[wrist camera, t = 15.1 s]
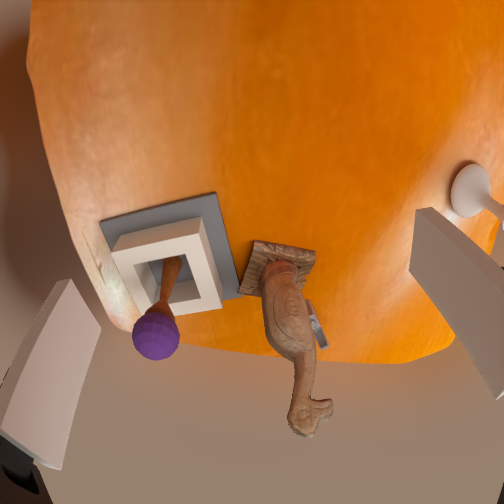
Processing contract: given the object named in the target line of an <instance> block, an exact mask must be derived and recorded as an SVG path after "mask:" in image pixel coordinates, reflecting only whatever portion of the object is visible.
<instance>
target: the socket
mask: <svg viewBox="0 0 504 504" xmlns="http://www.w3.org/2000/svg"><path fill="white" fill-rule="evenodd" d="M99 225H100V227H101V230H102V232H103V234H104V237H105V239H106V241H107V243H108V246H109V248H110V250H111V255H112V258H113V260H114V262H115V264H116V266H117V268H118V270H119V272H120V274H121V277H122V279H123V281H124V283H125V285H126V287H127V289H128V291H129V293H130V294H131V296H132V298H133V300H134V302H135V304H136V306H137V308H138V310H139V312H140V313H141V315H142V316H143V315H144V314H145V312H146V310H147V309H148V308H150V307H151V306H152V305H154V304H155V303H156V302H158V301H159V300H160V290H161V278H162V268H163V260H164V258H167V257H172V256H177V255H178V256H179V257H180V258H181V259H182V262H183V264H182V267H181V269H180V272H179V274H178V277H177V279H176V282H175V284H174V286H173V289H172V291H171V294H170V296H169V299H168V301H167V302H168V304H169V307H170V309H171V311H172V313H173V315H174V316H177V315H184V314H190V313H196V312H202V311H208V310H214V309H219V308H222V300H227V299H233V298H238V297H242V294H237V292H238V290H239V288H240V284H239V280H238V276H237V272H236V268H235V264H234V261H233V257H232V253H231V249H230V245H229V241H228V237H227V233H226V229H225V225H224V221H223V217H222V214H221V210H220V206H219V201H218V197H217V193H216V192H213V193H209V194H204V195H200V196H196V197H191V198H187V199H183V200H178V201H174V202H170V203H166V204H162V205H158V206H154V207H150V208H146V209H142V210H139V211H135V212H131V213H127V214H124V215H120V216H117V217H113V218H109V219H106V220H102V221H101V222H100V223H99Z"/></svg>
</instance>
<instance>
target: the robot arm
mask: <svg viewBox="0 0 504 504" xmlns="http://www.w3.org/2000/svg"><path fill="white" fill-rule="evenodd" d="M409 271H410V273H411V274H412V275H413V276H414V278H415V279H416V280H417V282H418V283H419V284H420V286H421V287H422V288H423V289H424V291H425V292H426V293H427V295H428V296H429V297H430V299H431V300H432V302H433V303H434V304H435V306H436V307H437V308H438V310H439V311H440V313H441V314H442V315H443V317H444V318H445V320H446V321H447V323H448V324H449V325H450V327H451V328H452V330H453V331H454V333H455V334H456V336H457V337H458V339H459V340H460V342H461V343H462V345H463V346H464V348H465V349H466V351H467V352H468V354H469V356H470V357H471V359H472V360H473V362H474V364H475V365H476V367H477V369H478V370H479V372H480V374H481V375H482V377H483V379H484V380H485V382H486V384H487V386H488V387H489V389H490V391H491V393H492V394H493V396H494V398H495V400H497V399H498V398H500V397H501V396H503V395H504V267H500V266H499V265H498V264H497V263H496V262H495V261H494V260H493V259H492V258H491V257H490V256H488V255H487V254H486V253H485V252H484V251H483V250H482V249H481V248H480V247H479V246H478V245H477V244H475V243H474V242H473V241H472V240H471V239H470V238H469V237H468V236H466V235H465V234H464V233H463V232H462V231H461V230H459V229H458V228H457V227H456V226H455V225H453V224H452V223H451V222H450V221H449V220H447V219H446V218H445V217H444V216H443V215H441V214H440V213H439V212H437V211H436V210H435V209H434V208H432V207H428V208H423V209H417V210H416V213H415V224H414V234H413V243H412V252H411V259H410V266H409ZM100 332H101V328H100V326H99V324H98V323H97V321H96V320H95V318H94V317H93V315H92V313H91V312H90V310H89V309H88V307H87V305H86V304H85V302H84V300H83V299H82V297H81V295H80V293H79V292H78V290H77V288H76V286H75V285H74V283H73V281H72V279H67V280H62V281H58V282H57V283H56V285H55V286H54V288H53V289H52V291H51V293H50V294H49V296H48V298H47V299H46V301H45V302H44V304H43V306H42V307H41V310H40V311H39V313H38V314H37V316H36V318H35V320H34V321H33V323H32V325H31V327H30V329H29V331H28V332H27V334H26V336H25V338H24V340H23V342H22V344H21V346H20V348H19V350H18V352H17V354H16V356H15V358H14V360H13V362H12V364H11V366H10V367H9V369H8V371H7V373H6V375H5V377H4V379H3V383H2V384H1V386H0V504H53V502H52V500H51V498H50V496H49V494H48V491H47V489H46V486H45V484H44V482H43V479H42V477H41V474H40V471H39V470H38V468H37V466H35V465H34V464H33V460H34V459H35V460H36V461H38V462H40V463H41V464H43V465H44V466H47V467H50V468H54V469H57V470H62V464H63V459H64V455H65V450H66V446H67V441H68V437H69V433H70V429H71V425H72V421H73V417H74V413H75V410H76V406H77V403H78V399H79V395H80V392H81V389H82V385H83V382H84V379H85V376H86V373H87V370H88V367H89V364H90V360H91V358H92V355H93V352H94V349H95V346H96V343H97V340H98V338H99V335H100ZM497 504H504V483H503V487H502V490H501V493H500V496H499V499H498V502H497Z"/></svg>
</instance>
